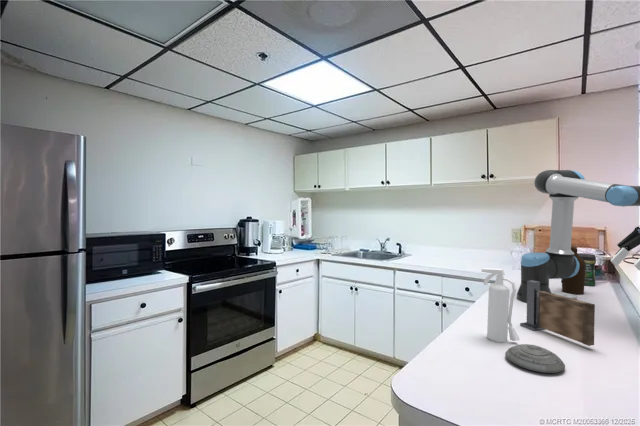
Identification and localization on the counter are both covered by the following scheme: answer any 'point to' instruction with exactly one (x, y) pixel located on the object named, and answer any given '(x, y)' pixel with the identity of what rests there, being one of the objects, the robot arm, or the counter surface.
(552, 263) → the robot arm
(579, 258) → the olive oil
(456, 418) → the counter surface
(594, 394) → the counter surface
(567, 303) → the gate
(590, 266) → the coffee jar
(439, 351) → the counter surface
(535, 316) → the gate post
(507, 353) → the flying saucer
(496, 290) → the fire extinguisher
